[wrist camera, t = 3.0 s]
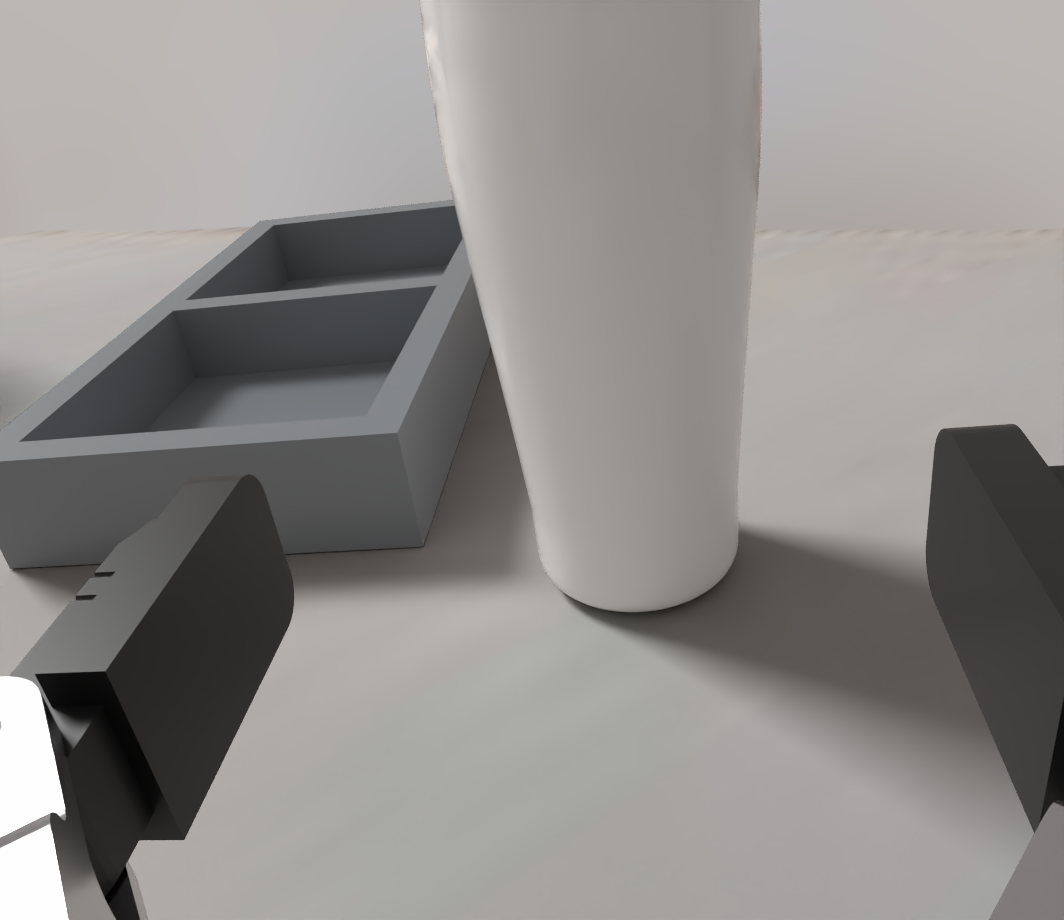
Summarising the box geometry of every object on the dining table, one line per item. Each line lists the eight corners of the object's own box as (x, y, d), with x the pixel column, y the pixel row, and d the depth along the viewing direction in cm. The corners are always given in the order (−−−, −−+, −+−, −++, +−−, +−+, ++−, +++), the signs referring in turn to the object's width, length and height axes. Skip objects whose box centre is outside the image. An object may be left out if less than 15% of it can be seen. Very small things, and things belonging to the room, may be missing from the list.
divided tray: (518, 266, 50) (508, 193, 48) (423, 546, 28) (397, 432, 26) (278, 289, 52) (259, 220, 50) (10, 568, 30) (-42, 464, 28)
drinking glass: (766, 493, 28) (758, -94, 20) (769, 648, 22) (761, -90, 15) (541, 494, 29) (460, -49, 22) (490, 639, 24) (357, -31, 16)
